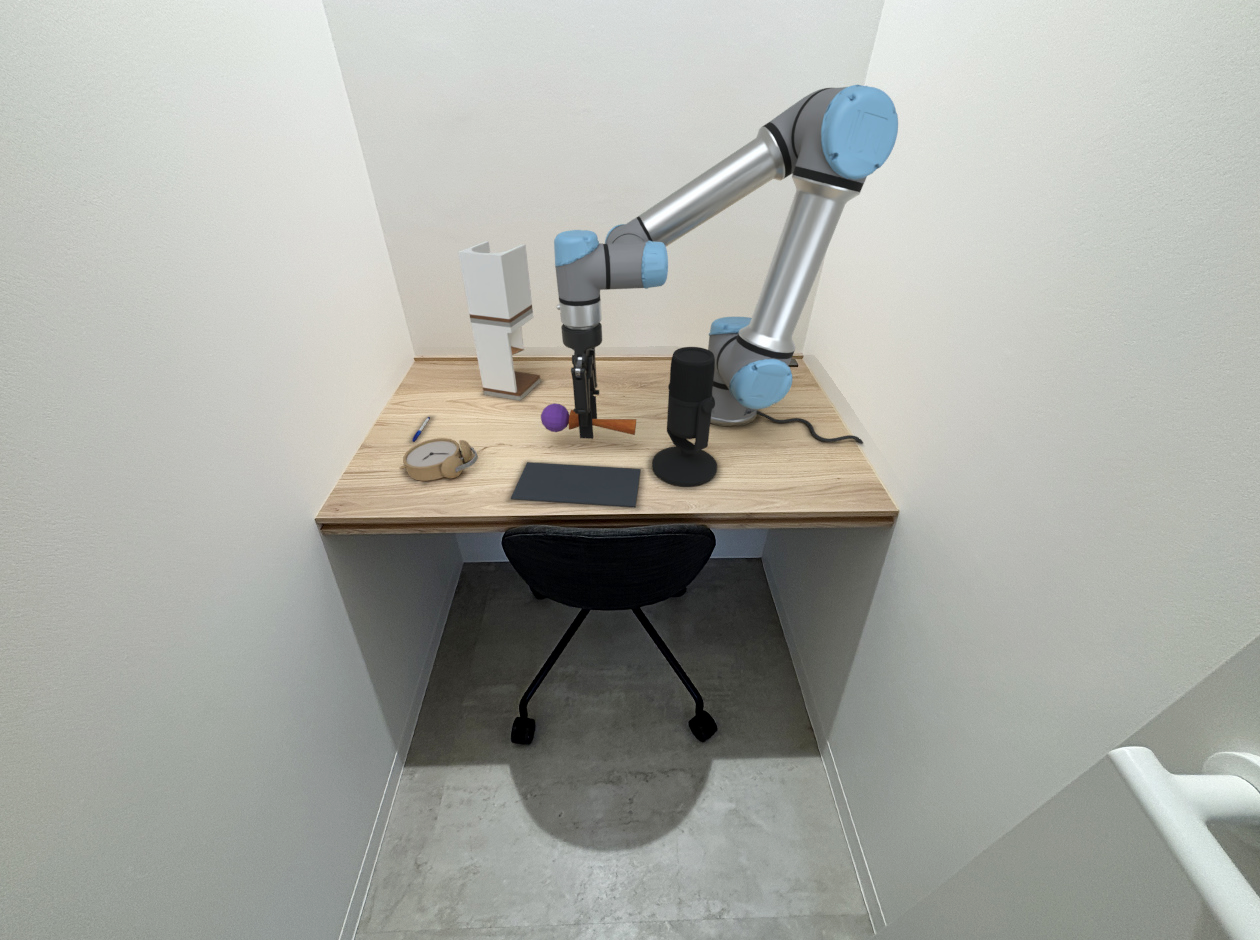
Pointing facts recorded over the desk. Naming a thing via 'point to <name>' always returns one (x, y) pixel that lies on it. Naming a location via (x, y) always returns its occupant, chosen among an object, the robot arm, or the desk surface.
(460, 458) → the alarm clock
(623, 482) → the mat
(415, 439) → the ballpoint pen
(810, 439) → the desk surface
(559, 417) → the kendama
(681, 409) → the microphone
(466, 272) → the display case
